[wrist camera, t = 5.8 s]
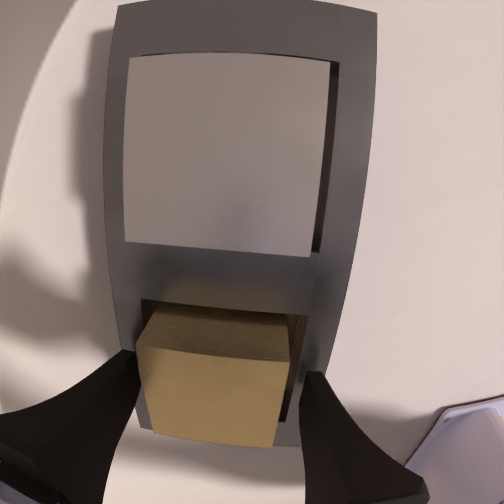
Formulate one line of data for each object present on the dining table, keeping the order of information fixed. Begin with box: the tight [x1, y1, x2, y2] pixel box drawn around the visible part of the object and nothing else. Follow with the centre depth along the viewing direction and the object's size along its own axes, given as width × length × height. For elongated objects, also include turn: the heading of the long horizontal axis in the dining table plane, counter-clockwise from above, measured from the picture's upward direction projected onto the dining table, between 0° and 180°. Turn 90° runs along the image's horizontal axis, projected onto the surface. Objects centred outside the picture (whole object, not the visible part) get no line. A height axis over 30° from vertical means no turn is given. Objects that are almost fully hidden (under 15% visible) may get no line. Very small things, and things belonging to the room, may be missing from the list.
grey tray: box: [103, 0, 377, 447], centre depth 12 cm, size 20×9×2 cm, turn 176°
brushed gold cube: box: [135, 301, 290, 448], centre depth 13 cm, size 5×5×5 cm
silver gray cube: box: [123, 53, 330, 257], centre depth 10 cm, size 5×5×5 cm
